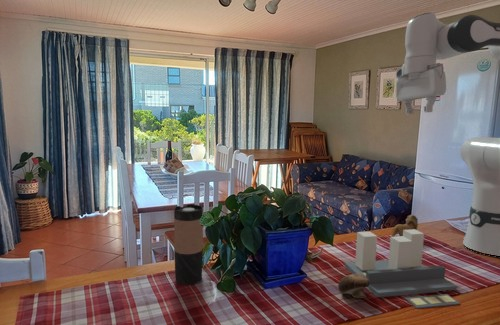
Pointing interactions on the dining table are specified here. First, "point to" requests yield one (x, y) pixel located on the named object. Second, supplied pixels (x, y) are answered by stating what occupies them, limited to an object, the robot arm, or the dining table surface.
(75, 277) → the dining table surface
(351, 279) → the mushroom
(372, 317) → the dining table surface
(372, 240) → the key
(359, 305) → the dining table surface
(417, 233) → the key
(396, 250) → the middle key
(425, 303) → the card
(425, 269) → the board
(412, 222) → the lion figurine
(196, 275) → the travel mug
